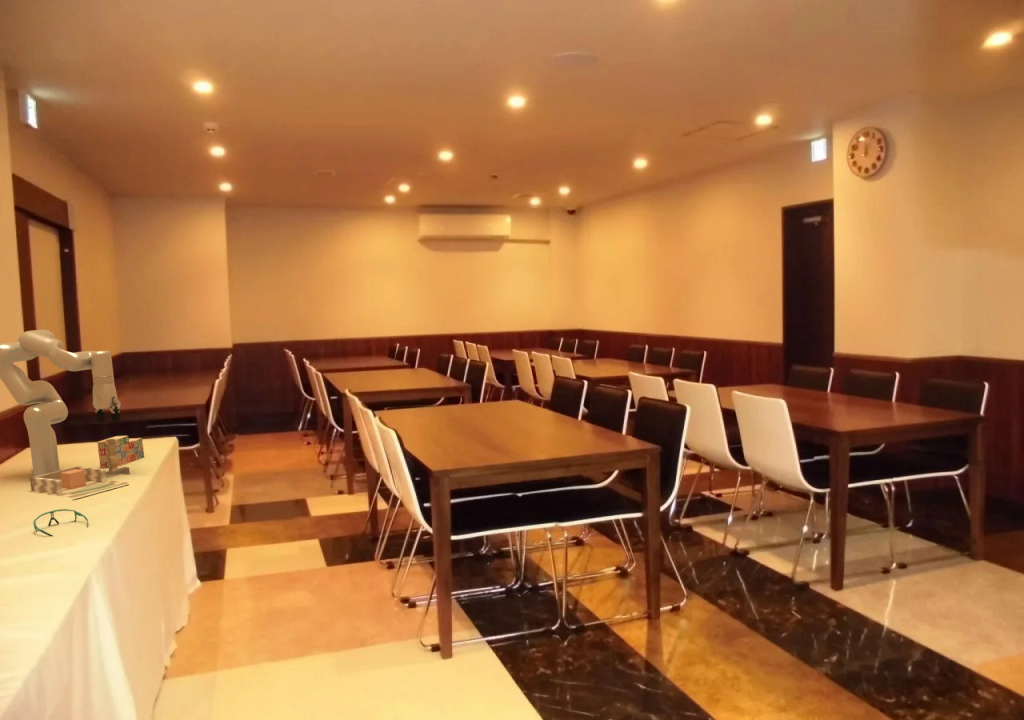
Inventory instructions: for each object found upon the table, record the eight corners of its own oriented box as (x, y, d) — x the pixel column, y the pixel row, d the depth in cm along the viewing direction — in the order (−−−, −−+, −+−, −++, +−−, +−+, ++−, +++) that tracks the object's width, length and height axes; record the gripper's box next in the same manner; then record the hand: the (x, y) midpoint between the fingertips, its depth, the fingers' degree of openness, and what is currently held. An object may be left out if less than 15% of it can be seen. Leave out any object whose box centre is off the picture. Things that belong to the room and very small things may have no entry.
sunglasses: (75, 519, 252) (74, 505, 251) (94, 530, 243) (93, 516, 242) (28, 531, 241) (27, 516, 240) (46, 543, 232) (45, 528, 231)
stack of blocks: (132, 457, 352) (129, 431, 351) (144, 457, 351) (141, 431, 350) (100, 469, 331) (97, 441, 330) (112, 468, 330) (109, 441, 329)
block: (61, 487, 294) (60, 472, 293) (76, 484, 299) (75, 469, 298) (70, 489, 291) (69, 473, 290) (86, 485, 296) (84, 470, 295)
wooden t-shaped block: (98, 480, 307) (93, 442, 306) (125, 473, 318) (121, 436, 316) (102, 481, 306) (98, 442, 304) (129, 474, 316) (125, 436, 315)
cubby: (27, 494, 291) (25, 478, 291) (83, 479, 310) (81, 465, 310) (74, 500, 277) (72, 484, 276) (129, 485, 296) (127, 470, 295)
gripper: (82, 382, 309) (87, 423, 310) (108, 382, 300) (113, 424, 302) (99, 379, 315) (104, 420, 317) (125, 379, 307) (130, 421, 309)
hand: (108, 422), depth 309 cm, fingers open, 9 cm apart
